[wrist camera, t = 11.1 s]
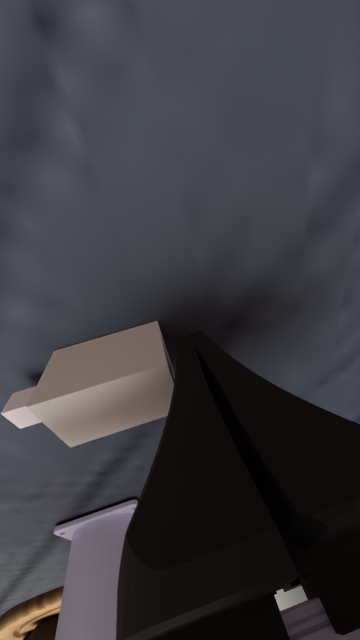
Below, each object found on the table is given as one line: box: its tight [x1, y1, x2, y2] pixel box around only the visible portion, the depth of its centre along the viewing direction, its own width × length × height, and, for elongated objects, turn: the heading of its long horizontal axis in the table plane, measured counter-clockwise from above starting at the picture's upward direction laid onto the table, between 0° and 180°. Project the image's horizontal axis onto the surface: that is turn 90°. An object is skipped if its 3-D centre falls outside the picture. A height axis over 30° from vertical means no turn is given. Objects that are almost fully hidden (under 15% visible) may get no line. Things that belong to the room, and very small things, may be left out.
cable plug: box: [1, 321, 175, 447], centre depth 9 cm, size 3×7×3 cm, turn 102°
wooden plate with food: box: [0, 586, 64, 640], centre depth 37 cm, size 32×32×8 cm
